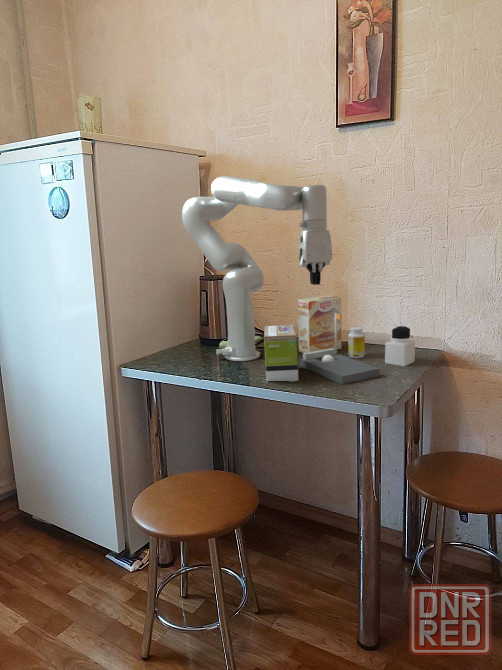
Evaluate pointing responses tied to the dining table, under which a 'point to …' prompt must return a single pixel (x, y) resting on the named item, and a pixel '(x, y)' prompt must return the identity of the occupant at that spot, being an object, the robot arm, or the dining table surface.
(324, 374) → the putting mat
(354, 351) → the supplement bottle
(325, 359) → the ball
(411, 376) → the dining table surface
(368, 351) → the dining table surface
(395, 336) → the medicine bottle
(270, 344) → the tea box
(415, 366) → the dining table surface
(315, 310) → the coffeecake box
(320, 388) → the dining table surface
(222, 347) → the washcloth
